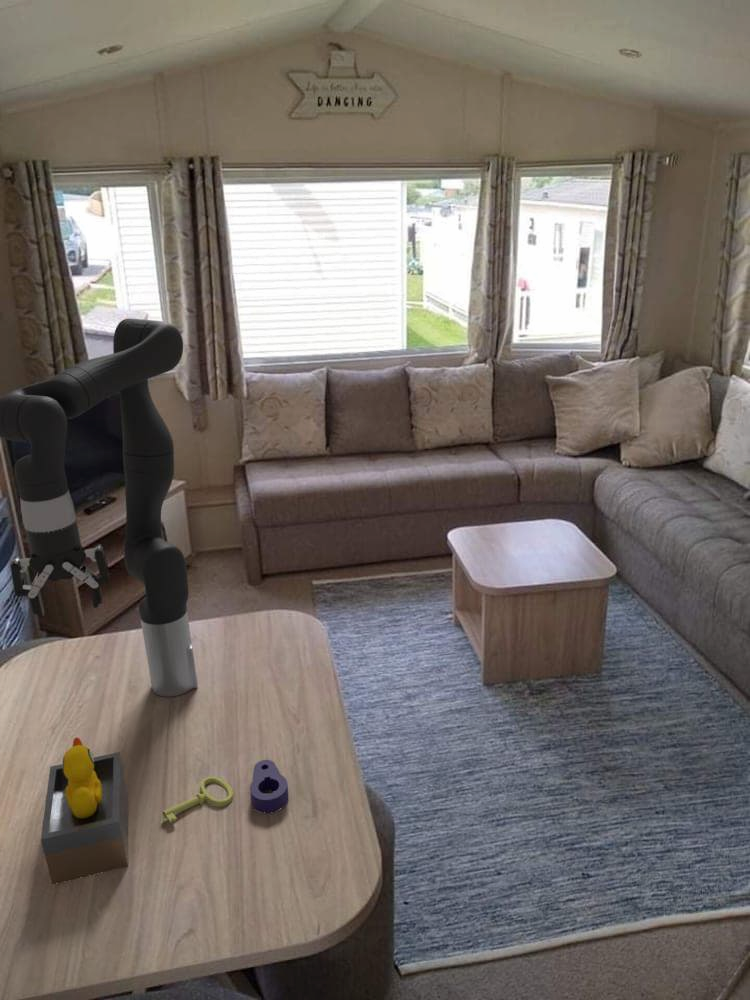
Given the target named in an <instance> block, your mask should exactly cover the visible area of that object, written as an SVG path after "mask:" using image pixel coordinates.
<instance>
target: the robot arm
mask: <svg viewBox="0 0 750 1000" xmlns="http://www.w3.org/2000/svg"><path fill="white" fill-rule="evenodd" d="M112 345H113V346H112V349H113V350H112V351H113V353H110V354H108V355H107V354H106V355H102V356H98V357H94V358H91V359H90V358H89V359H88V360H87V359H86V360H84V361H81V362H78V363H75V364H74V365H72V366H70V367H68V368H66V369H64V370H62V371H61V372H59V373H57V374H55V375H54V376H52V377H51V378H49V379H46V380H43V381H38V382H35V383H31V384H28V385H26V386H21V387H19V388H16V389H13V390H11V391H9V392H6V393H5V394H3V395H2V396H1V397H0V437H1V438H3V439H4V440H8V441H11V442H18V443H19V442H21V443H30V447H31V449H30V450H31V451H30V454H28V455H25V456H22V457H20V458H19V459H18V460H16V462H15V464H14V468H13V470H14V477H15V482H16V487H17V490H18V494H19V500H20V501H19V502H20V513H21V517H22V524H23V526H24V530H25V535H26V540H27V543H28V548H29V552H30V557H26V558H21V557H20V556H13V558H12V561H11V564H10V571H11V576H12V578H11V579H12V582H13V588H14V589H13V590H14V595H15V596H16V597H19V598H21V597H22V596H23V597H27V598H29V600H30V601H29V602H30V605H31V610H32V613H33V614H34V615H37V617H38V618H43V617H44V615H45V608H44V602H43V598H42V594H41V589H43V586H44V585H45V584H46V582H47V581H51V583H52V582H57V581H59V580H70V579H73V577H75V578H77V579H78V580H79V581H81V582H83V583H85V584H86V585H88V586H89V588H90V589H89V590H90V595H91V599H92V605H93V609H96V608H99V607H100V604H102V602H103V594H102V589H101V586H102V584H107V583H109V582H110V569H109V566H108V561H107V557H106V554H105V549H104V546H103V544H99V543H97V544H96V545H95V547H92V548H86V549H85V548H84V546H83V545H82V542H81V537H80V532H79V528H78V527H79V526H78V522H77V517H76V516H77V515H76V512H75V506H74V502H73V499H72V497H71V492H70V490H69V486H68V480H67V476H66V470H65V455H66V445H67V444H66V443H67V437H68V435H67V434H68V420H72V419H74V418H77V417H79V416H81V415H83V414H84V413H86V412H87V411H89V410H90V409H92V408H94V407H96V406H97V405H98V404H100V403H101V402H103V401H104V400H106V399H108V398H109V397H111V396H114V395H115V394H117V393H119V402H120V412H121V414H120V415H121V426H122V427H121V428H122V456H123V457H122V459H123V460H122V461H123V472H124V473H123V474H124V490H125V491H124V492H125V493H124V495H125V509H126V510H125V512H126V517H125V520H126V522H125V534H124V546H123V547H124V551H123V559H124V566H125V568H126V571H127V572H128V574H129V575H130V576H131V577H132V578H133V579H136V580H137V581H139V582H140V583H142V584H143V585H144V590H145V597H144V598H143V599H142V600H141V601H140V602H139V606H138V613H139V618H140V623H141V625H140V626H141V629H142V637H143V642H144V649H145V652H146V653H145V654H146V660H147V665H148V671H149V676H150V683H151V688H152V691H153V692H154V693H155V694H156V695H158V696H160V697H169V698H170V697H177V696H180V695H181V696H182V695H184V694H186V693H188V692H189V691H191V690H192V689H196V688H198V687H199V685H198V679H197V672H196V671H197V670H196V663H195V656H194V651H193V649H194V648H193V642H192V635H191V629H190V622H189V617H188V615H189V614H188V607H187V603H188V600H189V596H190V594H189V590H190V589H189V581H188V580H189V578H188V568H187V562H186V557H185V556H184V554H183V552H182V550H181V549H180V548H179V547H178V546H176V545H174V544H173V543H170V542H168V541H166V540H164V538H163V529H162V508H163V505H164V501H165V499H166V497H167V494H168V492H169V491H170V487H171V486H172V484H173V483H172V482H173V480H174V477H175V475H174V474H175V453H174V451H175V450H174V448H175V447H174V440H173V438H172V437H173V436H172V435H171V432H170V430H169V428H168V426H167V425H166V422H165V421H164V419H163V416H162V415H161V414H160V412H159V411H158V409H157V407H156V405H155V403H154V401H153V399H152V396H151V392H150V388H149V380H150V378H153V377H157V376H160V375H163V374H166V373H168V372H170V371H172V370H173V369H175V368H176V367H177V366H178V365H179V363H180V361H181V360H182V358H183V357H182V356H183V353H184V342H183V336H182V334H181V332H180V330H179V329H178V328H177V327H176V326H175V325H174V324H172V323H169V322H165V321H162V320H152V319H143V318H142V319H141V318H130V317H129V318H124V319H122V320H121V321H119V323H118V324H117V326H116V328H115V330H114V334H113V343H112ZM87 558H90V560H91V561H92V563H93V562H94V563H96V565H97V568H98V572H99V574H96V573H94V572H93V571H92V570H91V569H90V567H89V566H88V565H86V564H85V560H86V559H87ZM29 566H30V567H31V569H33V570H35V572H37V574H36V576H35V578H33V581H32V582H31V584H30V585H27V584H26V582H25V578H24V573H26V571H27V567H29Z"/></svg>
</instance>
